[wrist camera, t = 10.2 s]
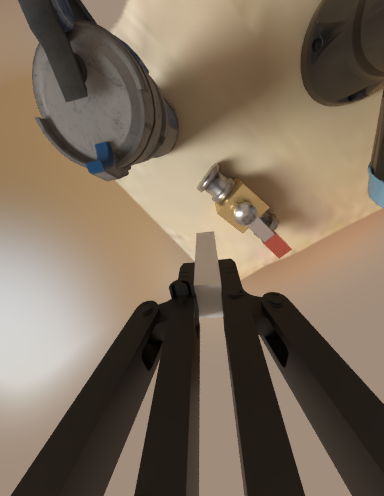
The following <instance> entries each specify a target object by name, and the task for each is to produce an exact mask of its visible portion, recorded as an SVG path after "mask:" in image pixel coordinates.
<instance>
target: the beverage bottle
mask: <svg viewBox="0 0 384 496" xmlns="http://www.w3.org/2000/svg"><path fill="white" fill-rule="evenodd" d="M18 1H19V4H20V7H21V9H22V11H23V13H24V15H25V17H26V20H27V22H28V24H29V26H30V29H31V30H32V32H33V33H34V35H35V36H36V38H37V39H38V41H39V44H38V46H37V48H36V52H35V56H34V60H33V70H32V80H33V88H34V95H35V98H36V102H37V106H38V109H39V111H40V113H41V115H42V118H43V119H41V118H39V117H36V118H35V119H36V121H37V123H38V124H39V126H40V128H41V130H42V131H43V133H44V134H45V136H46V137H47V138H48V140H49V141H50V142H51V143H52V144H53V145H54V146H55V147H56V148H57V149H58V150H59V151H60V152H61V153H62V154H63V155H64V156H66V157H67V158H68V159H70V160H71V161H73V162H75V163H77V164H79V165H81V166H83V167H86V168H88V171H89V172H90V173H91V174H93V175H95V176H97V177H100V178H102V179H104V180H106V181H111V180H116V179H120V178H122V177H124V176H127V175H128V174H129V172H128V170H130V169H131V165H134V164H138V163H141V162H144V161H147V160H149V159H151V158H157V157H160V156H163V155H165V154H167V153H168V152H169V151H170V150H171V149H172V148H173V146H174V145H175V142H176V140H177V136H178V128H179V126H178V118H177V115H176V112H175V110H174V108H173V106H172V104H171V103H170V101H169V100H168V99H167V98H166V96H165V95H164V94H163V92H162V91H161V90H160V88H159V87H158V86H157V84H156V83H155V82H154V81H153V79H152V78H151V77H150V75H149V74H148V73H149V71H148V69H147V68H146V66H145V65H144V63H143V62H142V60H141V59H140V58H139V56H138V55H137V54H136V53H135V52H134V51H133V50H132V49H131V48H130V47H129V46H128V45H127V44H126V43H125V42H123V41H122V40H120V39H119V38H118V37H116V36H115V35H113V34H112V33H110V32H109V31H107V30H106V29H104V28H103V27H101V26H99V25H97V23H96V22H95V20H94V19H93V18H92V16H91V15H90V13H89V12H88V10H87V9H86V8H85V6H84V5H83V3H82V2H81V1H80V0H18Z"/></svg>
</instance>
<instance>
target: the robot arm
mask: <svg viewBox="0 0 384 496" xmlns="http://www.w3.org/2000/svg"><path fill="white" fill-rule="evenodd" d="M301 75H302V80H303V83H304V86H305V88H306V90H307V92H308V94H309V95H310V96H311V97H312V98H313V99H314V100H315V101H316V102H318V103H320V104H322V105H325V106H342V105H346V104H350V103H353V102H356V101H359V100H361V99H363V98H365V97H367V96H369V95H371V94H372V93H374V92H376V91H377V90H378V89H380V88H381V87H382V86H384V0H322V2H321V3H320V5H319V6H318V8H317V10H316V12H315V13H314V15H313V17H312V20H311V22H310V24H309V27H308V29H307V32H306V35H305V39H304V43H303V47H302V54H301ZM368 173H369V181H368V194H369V197H370V198H371V199H372V200H373V201H374V202H375V203H376V204H377V205H378V206H380V207H382V208H384V91H383V96H382V101H381V107H380V113H379V118H378V124H377V130H376V135H375V141H374V146H373V152H372V157H371V162H370V164H369V166H368ZM169 290H170V294H171V297H172V299H171V300H169V301H167V302H165V303H162V304H159V305H158V304H157V303H156V302H154V301H146V302H143V303H142V304H140V305H139V306H138V307H137V308H136V310H135V311H134V313H133V314H132V316H131V317H130V319H129V320H128V322H127V323H126V325H125V326H124V328H123V329H122V330H121V332H120V334H119V335H118V337H117V338H116V339H115V341H114V343H113V344H112V345H111V347H110V348H109V350H108V351H107V353H106V354H105V356H104V357H103V359H102V360H101V362H100V363H99V365H98V366H97V368H96V369H95V371H94V372H93V374H92V375H91V377H90V378H89V380H88V381H87V383H86V384H85V386H84V387H83V389H82V390H81V392H80V393H79V395H78V396H77V398H76V399H75V401H74V402H73V404H72V405H71V406H70V408H69V410H68V411H67V412H66V414H65V415H64V417H63V418H62V420H61V422H60V423H59V424H58V426H57V427H56V429H55V430H54V432H53V433H52V435H51V436H50V438H49V439H48V441H47V442H46V444H45V445H44V447H43V448H42V450H41V451H40V453H39V454H38V456H37V457H36V459H35V460H34V462H33V463H32V465H31V466H30V468H29V469H28V471H27V472H26V474H25V475H24V477H23V478H22V480H21V481H20V483H19V484H18V485H17V487H16V488H15V490H14V491H13V493H12V495H11V496H103V495H104V493H105V491H106V488H107V486H108V483H109V481H110V479H111V476H112V474H113V471H114V469H115V466H116V464H117V462H118V459H119V457H120V454H121V452H122V450H123V447H124V445H125V442H126V440H127V437H128V435H129V433H130V430H131V428H132V425H133V423H134V421H135V418H136V416H137V413H138V411H139V408H140V406H141V403H142V401H143V399H144V396H145V394H146V392H147V389H148V386H149V384H150V382H151V379H152V377H153V375H154V372H155V370H156V367H157V365H158V362H159V360H160V363H159V369H158V373H157V379H156V384H155V389H154V394H153V400H152V405H151V410H150V416H149V421H148V427H147V432H146V437H145V442H144V448H143V452H142V458H141V463H140V468H139V474H138V479H137V484H136V489H135V494H134V496H199V387H200V386H199V384H200V383H199V382H200V381H199V379H200V377H199V376H200V324H199V318H209V317H223V319H224V331H225V337H226V345H227V353H228V362H229V370H230V379H231V387H232V395H233V404H234V412H235V420H236V428H237V437H238V445H239V454H240V462H241V469H242V478H243V487H244V495H245V496H305V494H304V490H303V487H302V483H301V480H300V477H299V473H298V470H297V466H296V463H295V460H294V456H293V453H292V449H291V446H290V442H289V439H288V436H287V432H286V429H285V426H284V422H283V418H282V415H281V411H280V408H279V405H278V401H277V398H276V394H275V391H274V388H273V384H272V381H271V378H270V374H269V370H268V367H267V364H266V360H265V357H264V354H263V350H262V346H261V343H260V340H259V336H258V335H260V337H261V338H262V340H263V342H264V344H265V345H266V347H267V349H268V351H269V352H270V354H271V356H272V357H273V359H274V361H275V363H276V364H277V366H278V368H279V369H280V371H281V373H282V375H283V377H284V378H285V380H286V382H287V383H288V385H289V387H290V389H291V390H292V392H293V394H294V396H295V397H296V399H297V401H298V403H299V404H300V406H301V408H302V410H303V411H304V413H305V415H306V417H307V418H308V420H309V422H310V423H311V425H312V427H313V429H314V430H315V432H316V434H317V436H318V437H319V439H320V441H321V443H322V444H323V446H324V448H325V450H326V451H327V453H328V455H329V456H330V458H331V460H332V461H333V463H334V465H335V467H336V469H337V470H338V472H339V474H340V475H341V477H342V479H343V481H344V483H345V484H346V486H347V488H348V489H349V491H350V493H351V494H352V496H384V404H383V403H382V402H381V401H380V400H379V398H378V397H377V396H376V395H375V394H374V393H373V392H372V391H371V390H370V389H369V388H368V386H367V385H366V384H365V383H364V382H363V381H362V380H361V379H360V378H359V377H358V375H357V374H356V373H355V372H354V371H353V370H352V369H351V368H350V367H349V365H347V363H346V362H345V361H344V360H343V359H342V358H341V357H340V356H339V354H338V353H337V352H336V351H335V350H334V349H333V348H332V347H331V346H330V345H329V343H328V342H327V341H326V340H325V339H324V338H323V337H322V336H321V335H320V334H319V333H318V331H317V330H316V329H315V328H314V327H313V326H312V325H311V324H310V323H309V321H308V320H307V319H306V318H305V317H304V316H303V315H302V314H301V313H300V312H299V310H298V309H297V308H296V307H295V306H294V305H293V304H292V303H291V302H290V301H289V300H288V298H286V297H285V296H284V295H282V294H280V293H276V292H269V293H266V294H264V295H263V297H257V296H253V295H250V294H248V293H247V292H245V291H244V290H243V288H242V285H241V281H240V278H239V274H238V271H237V267H236V264H235V262H234V261H233V260H232V259H223V260H218V257H217V250H216V243H215V236H214V231H213V232H204V233H197V236H196V254H195V262H194V263H184V264H183V265H182V266H181V268H180V272H179V278H178V280H176V281H174V282H173V283H171V284H170V286H169Z"/></svg>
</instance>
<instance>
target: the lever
mask: <svg viewBox="0 0 384 496" xmlns="http://www.w3.org/2000/svg"><path fill="white" fill-rule="evenodd" d="M233 216H234V218H235V220H236V222H237V223H238V224H240V225H247V226H248V227H249V228H250V229H251V230H252V231H253V232H254V233H255V234H256V235H257V236H258V237H259V238H260V239H261V240H262V242H263V243H264V244H265V245H266V246H267V247H268V248H269V249H270V250H271V251H272V252H273V253H274V254H275V255H276V256H277V257H278V258H280V257H282V256H283V255H285V254H286V253H288V252H289V251H290V250H292V249H291V248H290V247H289V246H288V244H287V243H286V242H285V241H284V240H283V239H282V238H281V237H280V236H279V235H278V234H277V233H276V232H275V231H274V230H273V229H272V230H271V229H270V228H269V227H268V226H267V225H266V224H265V223H264V222H263V221H262V220H261V219H260V218H259V217H258V216H257V210H256V208H255V207H254V206H253V204H252V203H250V202H247V201H243V202H240V203H238V204H237V205H236V206H235V208H234V210H233Z"/></svg>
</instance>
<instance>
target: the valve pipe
mask: <svg viewBox="0 0 384 496" xmlns="http://www.w3.org/2000/svg"><path fill="white" fill-rule="evenodd" d="M219 169H220V166H219V165H217V164H216V163H215V164H214V165H213V166H212V167H211V169H210V170H209V171H208V173H207V174H206V175H205V177H204V178H203V179H202V181H201V182H200V184H199V185H198V187H197V189H198V190H199V191H200V192H202V191H204V190H206V191H207V192H208V193H209V194H210V195H212V196H213V197H212V200H213V201H214V202H216V203H215V206H216V210H217V214H218V215H220V216H221V217H222V218H224V219H225V220H226V221H227V222H229V223H230V224H231V225H233V226H234V227H235V228H236V229H238V230H239V231H240V232H242V233H244V232H245V231H246V230H247V229H248V228H249V227H248V226H247V225H240V224H238V223H237V222H236V220H235V218H234V216H233V210H234V208H235V206H236V205H237V204H238V203H240V202H243V201H247V202H250V203H252V204H253V206H254V207H255V208H256V210H257V216H258V217H259V218H260V219H261V220H262V221H263V222H264V223H265V224H266V225H267V226H268V227H269V228H270V229H271V230H272V229H273V230H275V229H276V227H277V226H278V223H279V219H278V217H277V216H275V215H274V214H269V215H268V214H267V213H266V210H267V209H268V208H270V207H269V206H268V205H267V204H266V203H264V202H263V201H262V200H261V199H260V198H259V197H258V196H257V195H256V194H255V193H253V192H252V191H251V190H250V189H249V188H248V187H247V186H246V185H244V184H243V183H242V182H241V181H240V180H239V179H238V178H236V179H235V180H233V179H232V178H231V177H228V178H226V177H224V176H223V175H222V174H221V173H220V172H219ZM254 234H255V233H254ZM255 235H256V234H255ZM256 236H257V235H256ZM257 237H258V236H257ZM258 238H259V237H258Z"/></svg>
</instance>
